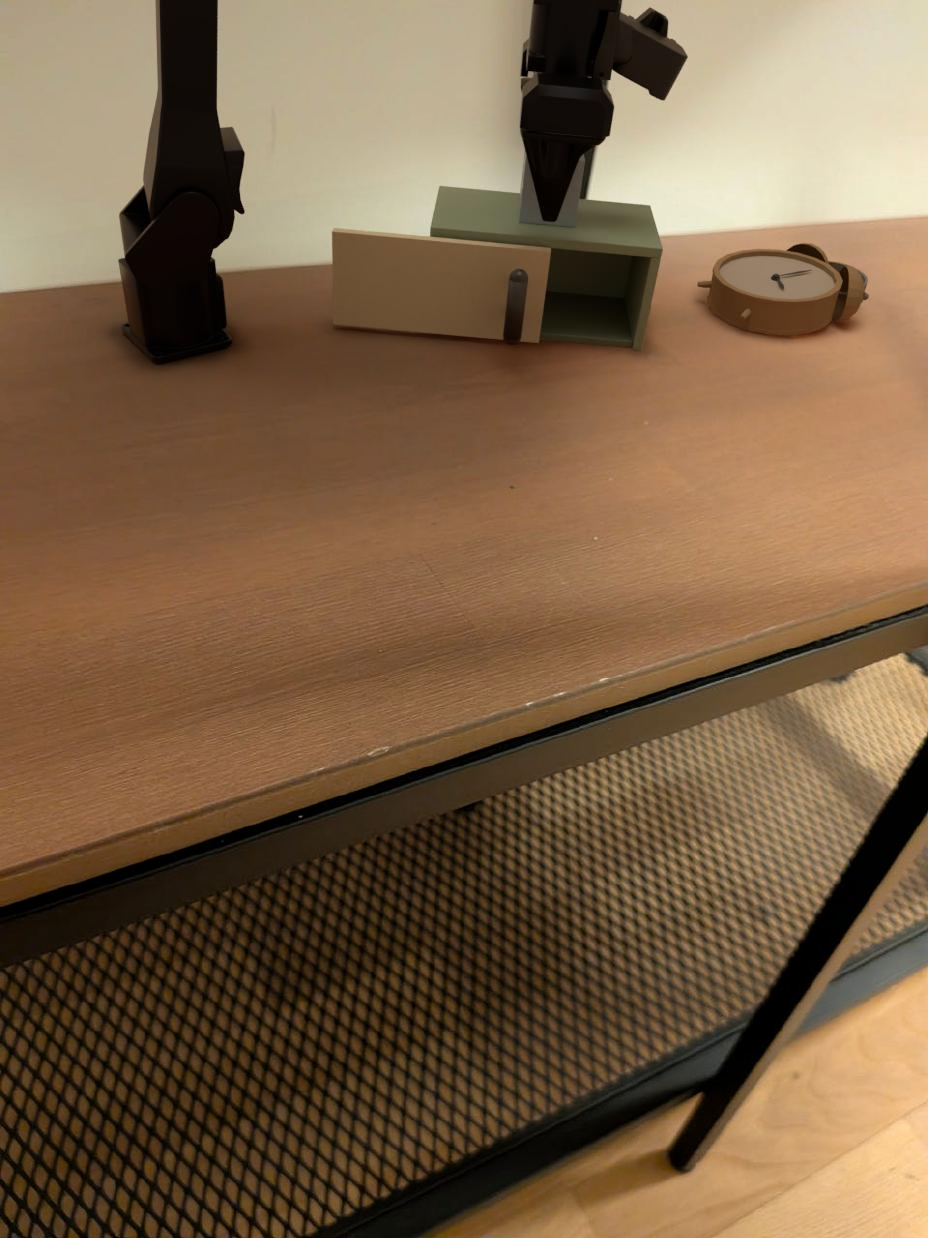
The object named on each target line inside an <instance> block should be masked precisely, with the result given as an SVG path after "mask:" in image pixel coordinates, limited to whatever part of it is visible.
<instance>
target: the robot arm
mask: <svg viewBox="0 0 928 1238" xmlns="http://www.w3.org/2000/svg"><path fill="white" fill-rule="evenodd" d="M622 2H623V0H532V8H531V15H530V16H531V17H530V26H529V38H527V39H526V40H525V41H524V42H523V43H522V50H521V60H520V61H521V62H520V74H519V75H520V77H521V78H520V91H521V92H520V93H521V100H520V111H519V112H520V113H519V133H520V137H521V139H522V143H523V148H524V151H525V152H526V156H527V160H528V164H529V168H530V172H531V176H532V180H533V184H534V188H535V192H536V196H537V200H538V204H539V209H540V213H541V217H542V220H543V221H546V222H556V221H557V219H558V216H559V213H560V210H561V208H562V205H563V202H564V199H565V197H566V194H567V191H568V188H569V186H570V183H571V180H572V177H573V175H574V172H575V170H576V167H577V164H578V162H579V159H580V157H581V156H582V155H583V154H584V155H585V154H586V153H587V152H589V151H590V150H592V149H593V148H594V147H595V146H596V147H597V146H600V145H602V144H603V143H604V142H605V140H606V138H608V137H610V136H611V130H612V124H613V117H614V112H615V104H614V100H613V96H612V94H611V92H610V90H609V89H608V87H607V86H606V85H605V84H604V82H603V80H604V81H611V80H612V72H615V73H616V74H617V75H619V76H621V77H623V78H625V79H627V80H629V81H630V82H632V83H634V84H636V85H637V86H640V87H642V88H643V89H645V90H647V92H648V94H649V95H650V96H652V97H653V98H655V99H657V100H659V101H662V102H663V101H666V99H667V97H668V96H669V93H670V92H671V90H672V88H673V86H674V84H675V82H676V81H677V78H678V77H679V75H680V74H681V73H680V72H681V71H682V70H683V68H684V65H685V64H686V62H687V60H688V58H689V55H688V54H687V53H686V51H685V49H684V47H683V46H682V45H680V44H679V43H677V41H676V39H674V38H669V36H668V33H669V32H668V31H669V19H668V18H667V16H666V15H665V14H663V13H662V12H659V10H656V9H654V8H652V7H651V6H650V7H648V8H647V9H646V10H645V11H643V12H642V13H641V14H639V16H638V17H636V18H635V17H634V16H632V15H630V14H629V15H627V14H625V13H623V12H621V10H622ZM154 3H155V31H156V32H155V33H156V35H155V37H156V38H155V40H156V71H157V72H156V73H157V75H156V76H157V91H156V99H155V103H154V108H153V113H152V116H151V122H150V126H149V127H150V128H149V131H148V137H147V144H146V145H147V146H146V153H145V160H144V167H143V174H142V175H143V176H142V178H143V179H142V182H143V185H142V186H141V187H140V188H139V189H138V191H137V192H136V193H135V194H134V196H133V197H132V198H131V199H130V200H129V201H128V203H127V204H126V205H125V206H124V207H123V208H122V209H121V211H120V212H119V214H118V219H119V226H120V234H121V240H122V247H123V248H122V249H123V255H124V257H121V258H119V259H117V262H118V268H119V273H120V280H121V286H122V292H123V297H124V304H125V308H126V317H127V322H125V323H122V324H121V327H120V328H121V331H122V333H123V334H124V335H125V336H126V337H128V339H129V340H130V341H132V342H133V344H135V346H137V348H139V350H140V351H142V352H143V353H144V354H145V356H147V357H148V358H149V359H150V360H151V361H152V362H154V363H162V362H166V361H170V360H175V359H179V358H184V357H188V356H192V355H197V354H200V353H205V352H210V351H213V350H218V349H222V348H225V347H230V346H232V344H233V337H232V336H231V335H230V334H228V333H227V332H226V331H225V329H226V328H227V326H228V319H227V317H228V316H227V307H226V306H227V305H226V296H225V287H224V286H225V285H224V279H223V277H222V276H221V275H220V274H219V273H217V265H216V264H217V263H216V259H215V258H213V256H212V255H213V252H214V250H215V249H218V247H219V246H221V244H223V243H224V242H225V241H227V240H228V239H229V238H230V236H231V233H232V232H233V230H234V224H235V218H236V216H235V212H237V213H238V214H240V215H244V214H246V213H245V208H244V205H243V203H242V199H241V180H242V176H243V170H244V166H245V165H244V164H245V155H246V152H245V150H244V148H243V146H242V144H241V141H240V139H239V137H238V135H237V133H236V131H235V128H234V127H233V126H226V127H221V125H220V124H221V123H220V119H219V113H218V40H219V39H218V37H219V36H218V31H219V28H218V27H219V25H218V23H219V21H218V19H219V15H218V14H219V9H218V8H219V0H155V1H154ZM529 72H531V73H532V74H531V77H529Z"/></svg>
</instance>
